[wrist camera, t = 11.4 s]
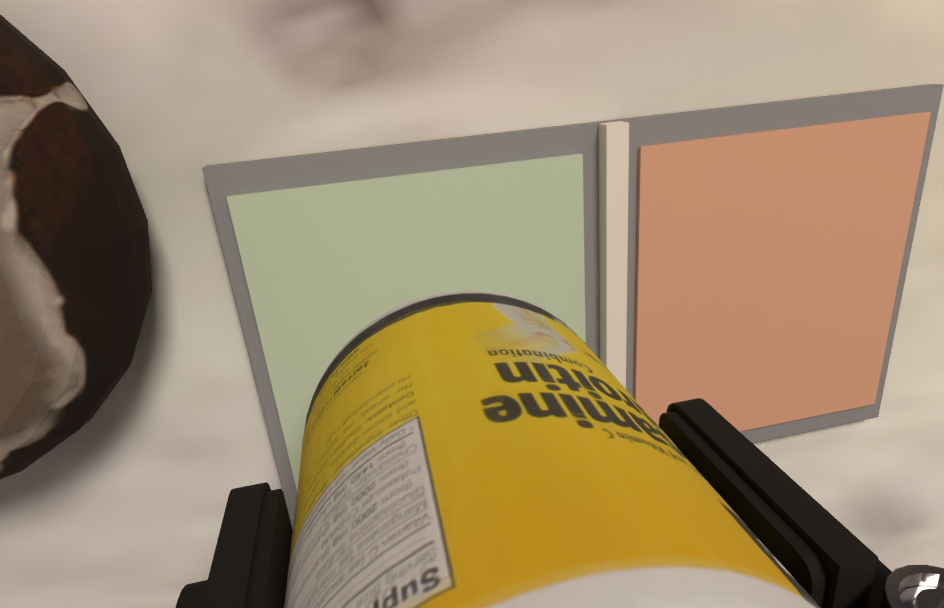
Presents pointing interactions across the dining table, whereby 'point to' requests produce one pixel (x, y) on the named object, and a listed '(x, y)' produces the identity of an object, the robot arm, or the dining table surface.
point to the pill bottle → (504, 478)
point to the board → (605, 251)
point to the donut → (61, 256)
